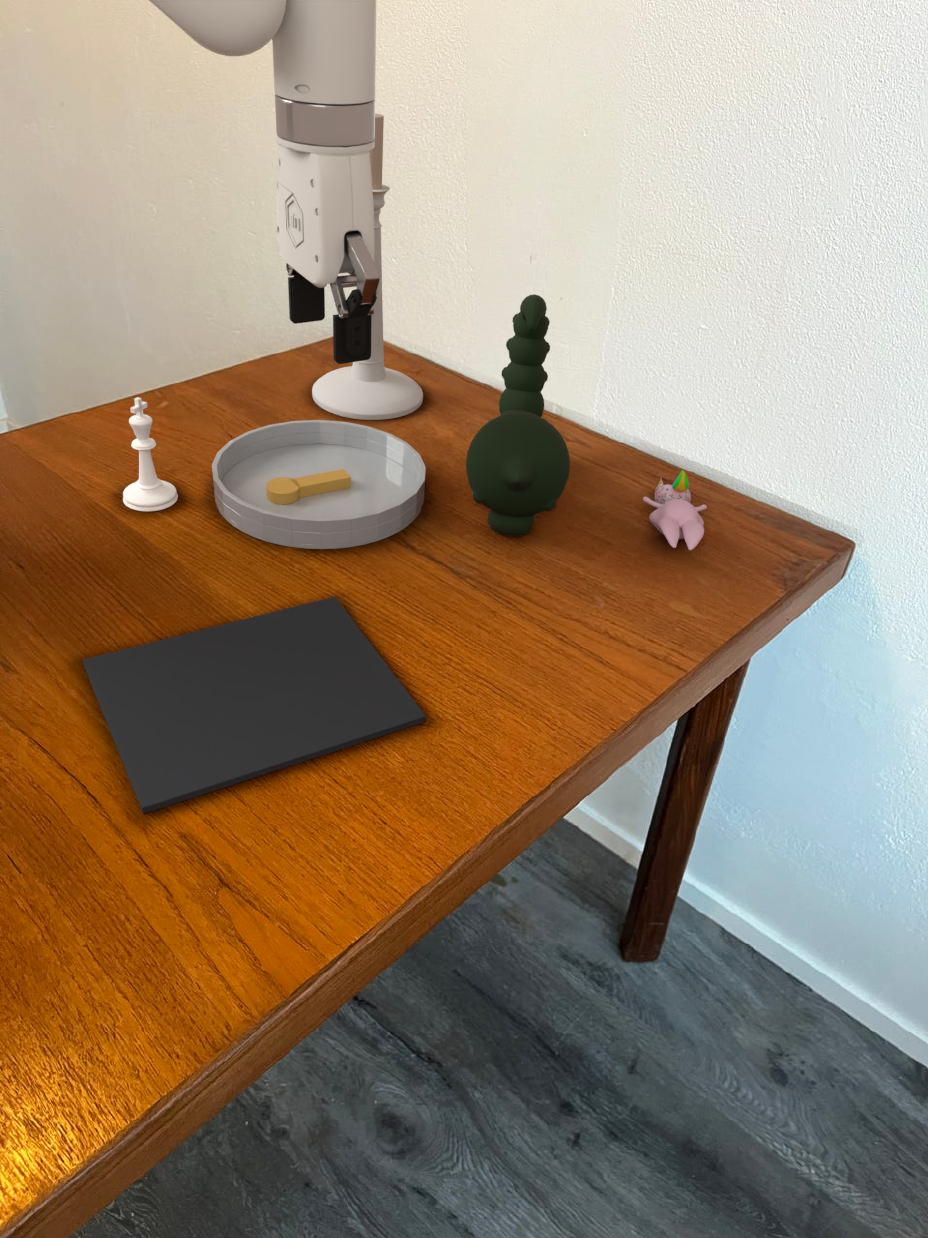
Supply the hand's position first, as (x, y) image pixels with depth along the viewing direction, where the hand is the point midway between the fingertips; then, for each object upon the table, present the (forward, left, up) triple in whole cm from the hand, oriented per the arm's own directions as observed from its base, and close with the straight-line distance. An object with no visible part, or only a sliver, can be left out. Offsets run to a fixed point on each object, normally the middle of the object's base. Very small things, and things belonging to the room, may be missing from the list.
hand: (329, 339), depth 85 cm
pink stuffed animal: (+28, -18, -16) cm, 37 cm away
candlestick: (+13, +20, -16) cm, 29 cm away
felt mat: (-17, -24, -16) cm, 33 cm away
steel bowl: (-1, +1, -16) cm, 16 cm away
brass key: (-2, +1, -15) cm, 15 cm away
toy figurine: (+16, -7, -16) cm, 24 cm away
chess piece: (-16, +6, -16) cm, 23 cm away
